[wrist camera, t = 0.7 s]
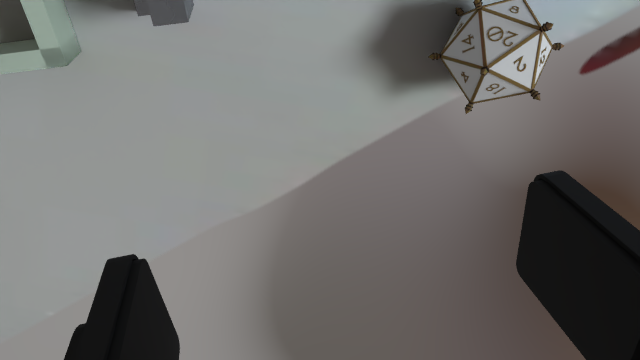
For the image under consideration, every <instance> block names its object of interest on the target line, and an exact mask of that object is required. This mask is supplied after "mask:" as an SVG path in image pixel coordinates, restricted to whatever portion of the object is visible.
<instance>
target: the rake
mask: <svg viewBox="0 0 640 360" xmlns="http://www.w3.org/2000/svg"><path fill="white" fill-rule="evenodd" d="M134 3H135V6H136V10H137V14H138V16H143V15H151V18H152V22H153V26H161V25H169V24H177V23H185V22H189V18H190V15H191V12H192V9H193V6H194V3H193V0H134Z"/></svg>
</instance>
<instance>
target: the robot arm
mask: <svg viewBox="0 0 640 360" xmlns="http://www.w3.org/2000/svg"><path fill="white" fill-rule="evenodd" d="M516 266H517V271H518V273H519V275H520V277H521V278H522V279H523V281H524V282H525V283H526V284H527V286H528V287H529V288H530V289H531V291H532V292H533V293H534V295H535V296H536V297H537V298H538V300H539V301H540V302H541V303H542V305H543V306H544V307H545V308H546V309H547V311H548V312H549V313H550V315H551V316H552V317H553V318H554V320H555V321H556V322H557V323H558V325H559V326H560V327H561V329H562V330H563V331H564V332H565V334H566V335H567V336H568V337H569V339H570V340H571V341H572V342H573V344H574V345H575V346H576V347H577V349H578V350H579V351H580V352H581V354H582V355H583V356H584V358H585V359H586V360H640V231H639V230H638V229H637V228H635V227H634V226H633V225H632V224H630V223H629V222H628V221H627V220H625V219H624V218H623V217H622V216H620V215H619V214H618V213H616V212H615V211H614V210H613V209H611V208H610V207H609V206H608V205H606V204H605V203H604V202H603V201H601V200H600V199H599V198H597V197H596V196H595V195H594V194H592V193H591V192H589V191H588V190H587V189H586V188H585V187H583V186H582V185H581V184H580V183H578V182H577V181H576V180H575V179H573V178H572V177H571V176H570V175H568V174H567V173H566V172H564V171H554V172H550V173H544V174H540V175H537V176H536V177H535V179H534V182H531V183H530V184H529V187H528V192H527V199H526V205H525V211H524V217H523V223H522V230H521V236H520V242H519V248H518V255H517V261H516ZM179 350H180V345H179V339H178V335H177V333H176V330H175V328H174V326H173V323H172V320H171V318H170V316H169V313H168V311H167V308H166V306H165V303H164V301H163V299H162V296H161V294H160V292H159V289H158V287H157V284H156V282H155V279H154V277H153V275H152V272H151V270H150V267H149V265H148V262H147V261H146V259H138V257H137V256H136V255H134V254H132V255H127V256H122V257H117V258H111V259H108V260H107V262H106V264H105V267H104V270H103V273H102V276H101V279H100V282H99V285H98V288H97V291H96V294H95V297H94V301H93V304H92V307H91V310H90V313H89V316H88V319H87V322H86V323H85V324H81V325H79V326H78V327H77V328H76V329H75V331H74V333H73V336H72V338H71V341H70V344H69V347H68V350H67V352H66V355H65V358H64V360H179V353H180V351H179Z"/></svg>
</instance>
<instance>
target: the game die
mask: <svg viewBox="0 0 640 360" xmlns="http://www.w3.org/2000/svg"><path fill="white" fill-rule="evenodd" d="M481 1H482V0H474V2H473V3H474V5H475V7H476V8H475V9H473V10H471V11H469V12H466V13H464V11H463V10H462V9H461V8H456V14H457V15H458V16H461V17H460V19H459V21H458V23H457V25H456V26H455V28H454V30H453V32H452V34H451V35H450V37H449V39H448V41H447V43H446V45H445V46H444V48H443V50H442V52H441V53H440V54H438V53H433V54H432V55H430V56H429V58H431V59H433V60H434V59H436V60H438V59H439V58H440V59H441V60H442V62H443V63H444V65H445V66H446V68H447V69H448V71H449V72H450V74H451V75H452V77H453V78H454V80H455V81H456V83H457V84H458V86H459V87H460V89H461V90H462V92H463V93H464V95H465V97H466V98H467V100H468V101H469V103H468V104H467V105H466V108H465V111H466V114H467V113H468V112H470V111H472V110H471V109H472V108H473V104H474V103H480V102H485V101H490V100H495V99H500V98H505V97H510V96H515V95H521V94H526V93H531V96H532V97H533V99H537V100H540V93H538V91H535V90H534V88H535V85H536V83H537V81H538V79H539V76H540V74H541V72H542V70H543V68H544V66H545V63H546V61H547V59H548V57H549V55H550V52H551V50H552V49H554V50H560V49H561V48H562V47H564V45H562V44H561V43H554V44H553V45H552V43H551V41H550V40H549V38H548V36H547V35H546V33H545V31H548V30H551V28H552V26H553V24H552V23H548V22H546V24H543V26H541V24H540V23H539V21H538V20H537V18H536V16H535V15H534V13H533V12H532V10H531V8H530V7H529V5H528V3H527V2H526V0H503V1H499V2H495V3H492V4H488V5H484V6H482V2H481Z"/></svg>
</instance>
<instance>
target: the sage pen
mask: <svg viewBox="0 0 640 360" xmlns="http://www.w3.org/2000/svg"><path fill="white" fill-rule="evenodd" d="M20 1H21V4H22V6H23V9H24V11H25V14H26V16H27V19H28V21H29V24H30V27H31V29H32V32H33V34H34V37H35V39H32V40H24V41H16V42H7V43H0V74H8V73H16V72H24V71H32V70H39V69H47V68H55V67H63V66H67V65H68V64H69V63H70V62H71V61H72V60H73V59H74V58H75V57H76V56H77V55H78V54H79V53H80V52H81V49H80V46H79V44H78V41H77V38H76V35H75V32H74V29H73V26H72V24H71V21H70V18H69V15H68V12H67V9H66V7H65V4H64V1H63V0H20Z"/></svg>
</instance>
